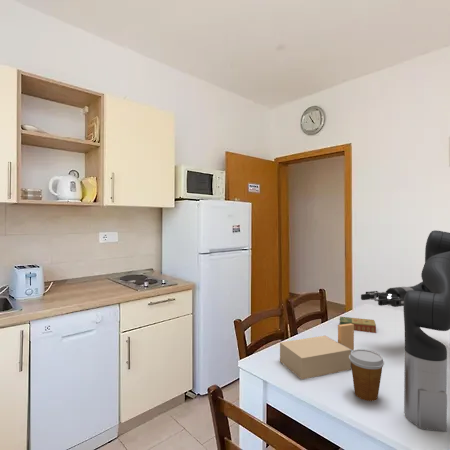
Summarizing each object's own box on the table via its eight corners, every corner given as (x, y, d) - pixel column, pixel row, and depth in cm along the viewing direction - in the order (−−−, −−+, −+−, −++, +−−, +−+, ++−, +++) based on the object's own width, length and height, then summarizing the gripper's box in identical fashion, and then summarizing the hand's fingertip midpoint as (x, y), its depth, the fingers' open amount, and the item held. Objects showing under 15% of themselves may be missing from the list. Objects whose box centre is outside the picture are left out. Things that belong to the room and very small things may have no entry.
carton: (376, 334, 142) (376, 324, 142) (339, 329, 148) (339, 320, 148) (374, 328, 150) (374, 319, 150) (339, 324, 156) (339, 315, 155)
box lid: (301, 379, 100) (301, 358, 100) (279, 361, 113) (280, 342, 113) (350, 369, 107) (350, 349, 107) (324, 353, 120) (324, 335, 120)
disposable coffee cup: (354, 383, 98) (354, 346, 97) (387, 394, 92) (387, 354, 91) (344, 396, 90) (344, 356, 90) (379, 409, 84) (379, 365, 84)
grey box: (304, 377, 100) (305, 339, 100) (282, 359, 113) (282, 325, 113) (366, 364, 109) (366, 330, 109) (339, 349, 122) (339, 318, 122)
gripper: (386, 283, 131) (356, 286, 125) (417, 291, 117) (385, 294, 112) (386, 301, 131) (356, 304, 125) (417, 310, 118) (385, 314, 112)
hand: (370, 299), depth 119 cm, fingers open, 8 cm apart
